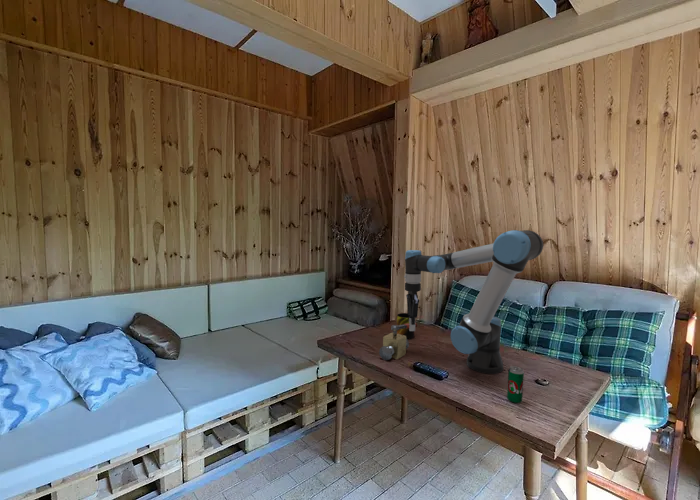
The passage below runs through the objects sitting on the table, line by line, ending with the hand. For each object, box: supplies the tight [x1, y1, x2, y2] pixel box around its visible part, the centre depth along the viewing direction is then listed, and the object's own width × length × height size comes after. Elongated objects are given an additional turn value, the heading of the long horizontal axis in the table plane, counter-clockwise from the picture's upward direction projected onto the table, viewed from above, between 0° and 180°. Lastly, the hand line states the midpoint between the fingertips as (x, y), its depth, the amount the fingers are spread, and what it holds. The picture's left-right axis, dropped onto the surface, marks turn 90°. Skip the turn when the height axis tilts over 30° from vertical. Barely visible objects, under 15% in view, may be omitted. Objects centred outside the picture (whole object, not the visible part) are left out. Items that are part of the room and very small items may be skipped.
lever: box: [390, 322, 418, 336], centre depth 166 cm, size 14×4×5 cm, turn 116°
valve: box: [378, 332, 410, 361], centre depth 164 cm, size 17×8×9 cm, turn 142°
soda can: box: [506, 365, 525, 404], centre depth 123 cm, size 5×5×12 cm
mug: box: [396, 312, 415, 341], centre depth 191 cm, size 10×14×12 cm
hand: (412, 330), depth 165 cm, fingers closed
